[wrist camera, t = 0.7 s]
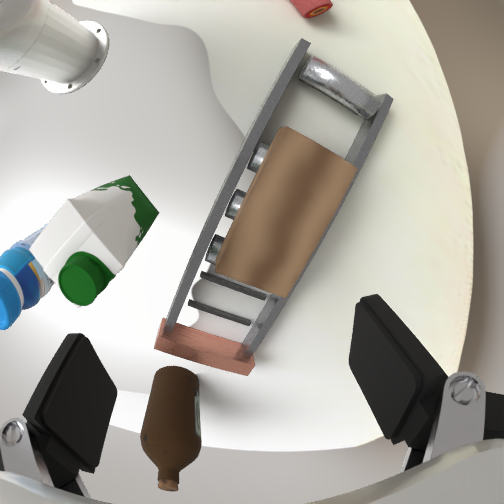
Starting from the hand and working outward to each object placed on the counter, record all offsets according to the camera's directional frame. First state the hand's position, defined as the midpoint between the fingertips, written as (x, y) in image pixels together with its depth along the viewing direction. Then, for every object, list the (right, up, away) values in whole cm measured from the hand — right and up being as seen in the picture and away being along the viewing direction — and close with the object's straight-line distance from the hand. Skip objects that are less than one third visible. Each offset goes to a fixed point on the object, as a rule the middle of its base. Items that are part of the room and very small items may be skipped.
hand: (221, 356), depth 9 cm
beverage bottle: (-30, +5, +29) cm, 42 cm away
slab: (+5, +9, +27) cm, 29 cm away
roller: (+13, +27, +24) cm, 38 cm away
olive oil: (-15, -23, +43) cm, 51 cm away
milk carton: (-17, +10, +29) cm, 35 cm away
